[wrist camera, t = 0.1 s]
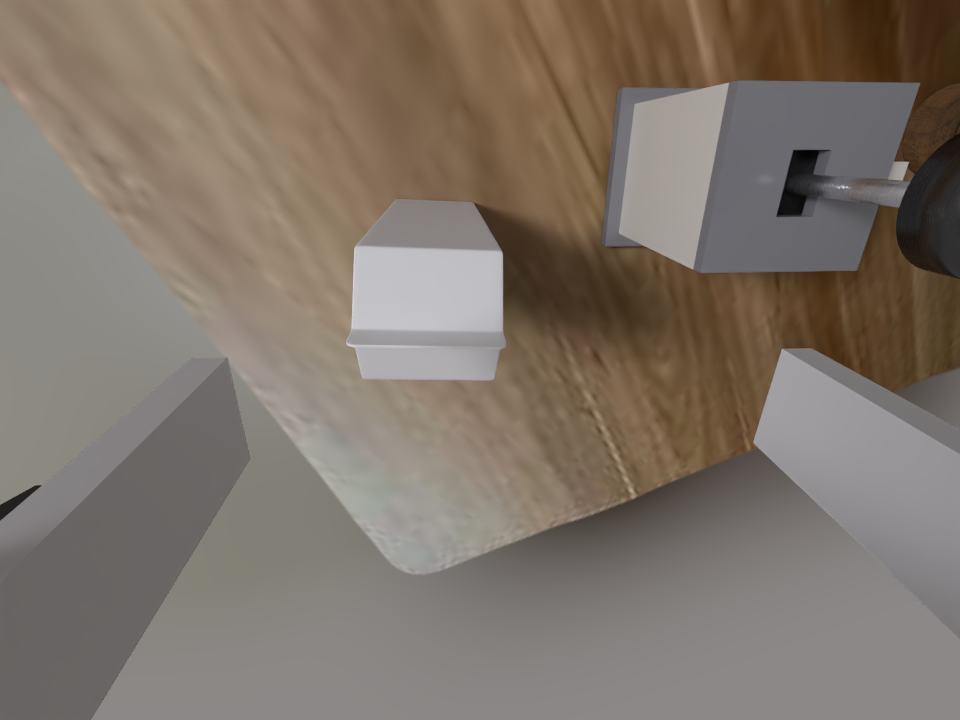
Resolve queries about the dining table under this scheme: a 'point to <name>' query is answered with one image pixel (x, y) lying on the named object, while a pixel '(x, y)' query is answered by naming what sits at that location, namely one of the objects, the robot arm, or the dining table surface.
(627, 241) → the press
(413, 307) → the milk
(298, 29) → the dining table surface
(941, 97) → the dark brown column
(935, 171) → the dark gray domed cylinder
